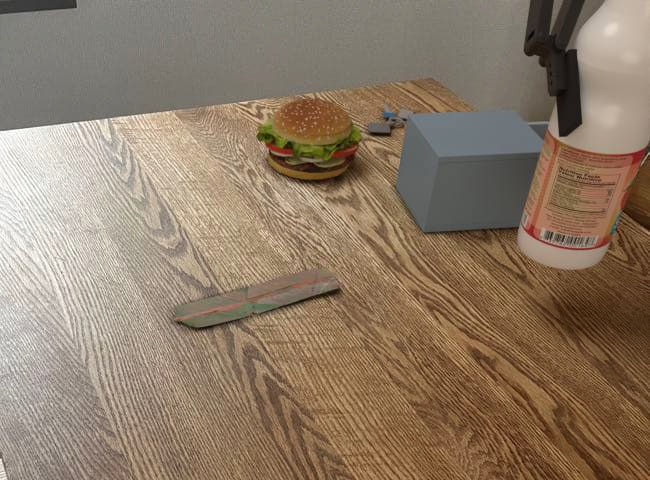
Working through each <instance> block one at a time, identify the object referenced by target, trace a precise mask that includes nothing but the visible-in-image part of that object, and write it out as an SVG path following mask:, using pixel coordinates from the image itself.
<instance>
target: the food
mask: <svg viewBox="0 0 650 480" xmlns="http://www.w3.org/2000/svg"><path fill="white" fill-rule="evenodd" d="M257 125H258V126H257V127H256V132H257V133H256V140H257V141H259V143H260V142H263V143H264V144H265V146H266V148H267V149H268V153H267V160H268V163H269V166H270V167H272V168H273V169H274V170H275V171H277V172H278V173H279V174H283V175H285V176H287V177H290V178H295V179H301V180H311V181H312V180H313V181H314V180H325V179H330V178H334V177H338V176H339V175H342V174H343V173H345V172H346V171H347V169H348V168H349V166H350V165H351V163H352V162H353V161H354V160H355V158H356V153H357V152H358V150H359V149H360V142H361V143H362V138H363V135H362V133H361V132H360V131H361V130H360V127H359V126H355V125H354V123H353V120H352V119H351V116H350V115H349V113H347V112H346V110H345V109H344V108H342V107H341V105H338V104H337V103H335V102H332V101H329V100H326V99H321V98H311V97H309V98H299V99H294V100H292V101H289V102H286V103H285V104H282V106H281V107H279V108H278V110H276V111H275V112H274V114H273V117H269V118H267V120H266V121H265V123H264V124H263V125H260V123H259V122H258V123H257Z"/></svg>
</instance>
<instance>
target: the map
mask: <svg viewBox="0 0 650 480" xmlns="http://www.w3.org/2000/svg"><path fill="white" fill-rule="evenodd" d="M339 285H340V283H339V281H338V280H337V275H335V273H334V272H331V270H330V269H329V268H322V269H321V268H320V267H316V268H311V269H308V270H304V271H300V272H295V273H291V274H287V275H284V276H281V277H276V278H273V279H271V280H266V281H264V282H260V283H257V284H254V285H249V286H246V287H242V288H239V289H236V290H232V291H229V292H228V291H227V292H225V293H222V294H218V295H215V296H211V297H207V298H203V299H199V300H195V301H192V302H187V303H183V304H178V305H175V309H176V310H175V311H174V313H175V315H174V317H173V320H174V321H176V322H181V323H183V324H185V325H187V326H188V327H192V328H203V327H209V326H213V325H218V324H223V323H226V322H232V321H236V320H239V319H244V318H246V317H250V316H251V315H252V313H254V314H257V315H259V314H261V313H264V312H268V311H271V310H274V309H277V308H280V307H284V306H286V305H290V304H293V303H296V302H299V301H301V300H304V299H307V298H311V297H314V296H317V295H320V294H325V293H327V292H331V291H333V290H336V289H340V288H339Z"/></svg>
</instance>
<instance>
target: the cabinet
mask: <svg viewBox="0 0 650 480" xmlns="http://www.w3.org/2000/svg"><path fill="white" fill-rule="evenodd" d="M406 121H407V122H405V129H404V135H403V141H402V147H401V153H400V158H399V164H398V169H397V170H398V171H397V176H396V182H395V188H396V190H397V192H398V193H399V195H400V197H401V198H402V200H403V202H404V203H405V205H406V206H407V208H408V209H409V211H410V213H411V214H412V216H413V218H414V220H415V222H416V223H417V224H418V226H419V228H420V229H421V231H422V232H423V233H439V232H455V231H471V230H474V231H475V230H490V229H505V228H506V229H507V228H519V226H520V222H521V219H522V215H523V212H524V208H525V205H526V201H527V198H528V194H529V191H530V188H531V184H532V181H533V177H534V174H535V170H536V167H537V163H538V160H539V156H540V153H541V150H542V146H543V143H544V141H543V140H542V139H541V138H540V137H539V135H538V134H537V133H536V132H535V131H534V130H533V129H532V128H531V127H530V126H529V125H528V124H527V123H526V122H527V121H526V120H524V118H523V117H522V116H521V115H520V114H519V113H518V112H517V111H516V110H515V109H501V110H500V109H499V110H478V111H476V110H475V111H447V112H446V111H445V112H423V113H419V112H418V113H413V114H408V117H407V119H406Z"/></svg>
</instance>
